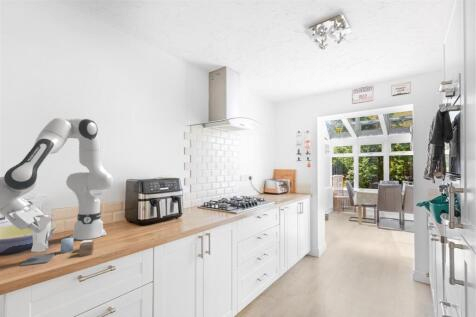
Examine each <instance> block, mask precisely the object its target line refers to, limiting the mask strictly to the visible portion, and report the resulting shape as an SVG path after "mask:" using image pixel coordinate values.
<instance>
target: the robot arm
mask: <svg viewBox="0 0 476 317" xmlns="http://www.w3.org/2000/svg"><path fill="white" fill-rule="evenodd" d="M98 128H99V127H98V126H97V123H96V122H95V121H94V120H92V119H89V118H73V119H72V118H71V119H64V118H62V117H61V118H60V117H55V118H53V119H51V121H49V122H48V123H47V124H46V125H45V126H44V127H43V128H42V130H41V131H40V132H39V133H38V135H37V137H36V139H35V141H34V144H33V146H32V148H31V149H30V150H29V151H28V153H27V154H26V155H25V156H24V157H23V159H22V160H21V161H20V162H19V163H17V164H16V165H14V166H12V167H10V168H9V169H8V170H7V171H6V172H5V174H4V176H0V213H1V214H2V215H3V216H4V217H5V218H7V220H8V221H9V222H10V223H11V224H12V225H13V226H14V227H16V228H17V229H18V230H20V231H23V230H25V229H28V230H31V231H32V230H33V231H35V232H36V233H39V232H40V231H42V229H41V228H40V227H37V226H36V225H35V224H34V222H35V219H34V218H33V217H34V216H38V215H45V214H44V213H43V212H42V211H41V210H40V209H39V208H38V207H37V206H35V203H34V202H32V201H30V200H26V199H25V198H23V196H25V195H26V194H29V193H30V192H31V191H33V190H34V189H35V187H36V183H37V178H38V170H39V168H40V166H41V165H42V164H43V163H44V161H45V160H46V158H47V157H49V155H52V154H56V153H59V151H60V150H61V149H62V148H63V147H64V145H65V144H66V143H67V140H68V139H77V140H78V158H79V160H78V162H79V163H80V165H81V166H84V167H85V168H86V169H87V170H88V171H89V172H80V171H79V172H74V173H70V174H69V175H68V176H67V178H66V181H65V183H66V184H65V185H66V186H67V187H68V188H69V189H70V190H71V191H72V192H73V193H74V194H75V196H76V198H77V202H78V213H77V216H76V217H77V218H76V219H77V221H76V222H75V223H74V225H73V233H72V235H70V236H69V238H74V240H78V241H79V240H81V241H83V240H93V239H97V238H99V237H103V236H106V235H107V232H106V229H104V225H103V224H104V221H102V220H101V217H102V214H101V200H100V198H99V197H98V196H96V195H94V194H93V193H92V191H105V190H110V188H112V186H113V185H114V182H115V181H114V180H115V179H114V177H113V175H112V174H111V173H110V172H108V171H107V170H106V168H104V166H103V162H102V156H101V154H102V153H101V144H100V143H101V142H100V137H99V135H98Z"/></svg>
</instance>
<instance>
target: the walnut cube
mask: <svg viewBox="0 0 476 317" xmlns="http://www.w3.org/2000/svg"><path fill="white" fill-rule="evenodd" d="M81 242H82V241H81ZM81 242H80V243H81ZM94 242H95V241H93V240H92V242H82V243H81V244H80V243H79V254H78V256H79V257H82V256H91V255H93V253H94V251H95V250H94V248H95V246H94V245H95V243H94Z"/></svg>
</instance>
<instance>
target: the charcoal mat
mask: <svg viewBox="0 0 476 317" xmlns="http://www.w3.org/2000/svg"><path fill="white" fill-rule="evenodd" d="M55 255H56V252H51V253H50V252H49V253H42V254H33V255H31V256H29V257H28V258H27V259H26V260H24V262H22V263H21V264H20V265H19V266H20V267H24V266H34V265H42V264H47V263H49V262H50V260H51V259H52V258H53V257H54V256H55Z"/></svg>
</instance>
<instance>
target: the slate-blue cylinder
mask: <svg viewBox="0 0 476 317" xmlns="http://www.w3.org/2000/svg"><path fill="white" fill-rule="evenodd" d="M74 240H75V239H74V238H70V237H65V238H62V239H61V241H60V254H69V253H72V252H73V251H74Z"/></svg>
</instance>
